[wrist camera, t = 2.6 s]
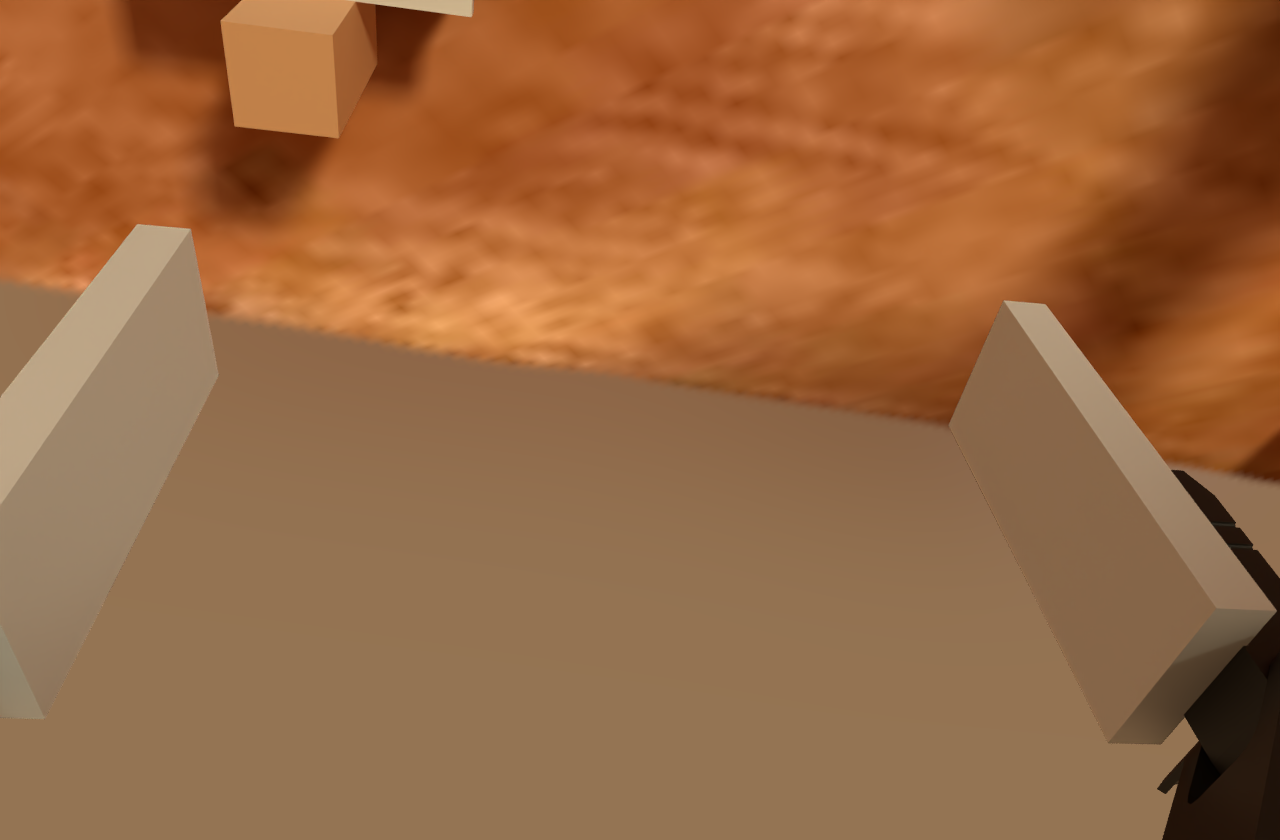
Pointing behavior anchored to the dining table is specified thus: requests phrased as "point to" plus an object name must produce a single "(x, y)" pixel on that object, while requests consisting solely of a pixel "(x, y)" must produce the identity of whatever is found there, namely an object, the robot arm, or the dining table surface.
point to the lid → (306, 59)
